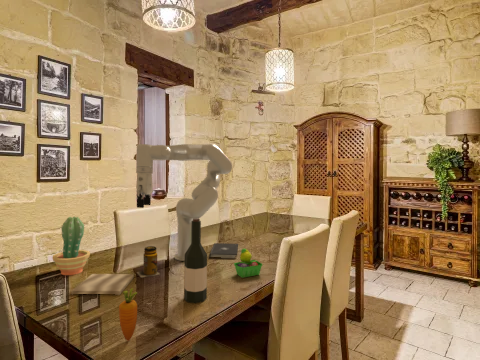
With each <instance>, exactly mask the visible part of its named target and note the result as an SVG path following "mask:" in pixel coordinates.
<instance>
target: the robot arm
mask: <svg viewBox="0 0 480 360" xmlns="http://www.w3.org/2000/svg"><path fill="white" fill-rule="evenodd" d="M135 160H136V161H135V162H136V168H135V171H136V172H135V173H136V174H137V176H136V190H135V191H136V208H138V209H140V208H142V209H144V207H145V206H151V200H152V199H151V198H152V193H154V192H153V189H154V188H153V175H152V174H153V172H154V166H153V165H154V161H178V162H179V161H181V162H182V161H184V162H185V161H186V162H187V161H188V162H189V161H192V162H193V161H208V162H207V167H206V170H207V174H206V176H205V178H204V179H203V180H202V181H201V182H200V183H199V184H198V185H197V186H196V187H195V188H194V189H193V190H192V192H191V198H187V197H184V198H181V199H179V200H178V202H177V203H176V206H175V213H176V217H177V253H176V254H175V255H173V256H174V260H175V261H176V260H177V261H181V262H184V258H185V253H186V251H187V250H188V248H189V246H190V245H191V225H192V221H193V219H194V218H199V219H200V218H202V217H203V216H204V215H205V214H206V213H207V212H208V211H209V210H210V209H211V208H212V207H213V206H214V205H215V204H216V202H217V201H218V199H219V191H218V187H219V186H220V184H221V175H227V174H230V173H231V172H232V170H233V164H232V161H231V160H230V158H229V157H228V156H227V155H226V154H225V153H224V152H223V150H221V148H219V146H217V145H216V144H213V143H206V144H197V143H196V144H193V143H192V144H191V143H190V144H189V143H188V144H186V143H183V144H175V145H165V144H155V145H154V144H153V145H151V144H148V143H147V144H145V143H144V144H142V143H140V144H137V146H136V159H135Z"/></svg>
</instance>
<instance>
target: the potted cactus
mask: <svg viewBox="0 0 480 360" xmlns="http://www.w3.org/2000/svg"><path fill="white" fill-rule="evenodd" d="M60 228H61V238H62V240H63V241H62V242H63V249H62V251H61V252H57V253H55V254H53V255H52V257H51V259H52V260H53V262H54V263H55V265H56V266H57V267H56V268H57V269H58V270H59V271H60V274H61V275H63V276H72V275H73V276H74V275H78V274H81V273H82V272H83V270H84V267H85V266H86V264H87V261H88V258H89V259H90V256H91V251H89V250H85V249H80V246H81V243H82V242H81V241H82V239H83V236H84V234H85V224H84V223H83V221H82V220H81V219H80V217H79V216H73V217H72V216H69V217H67V218H66V219H65V221H64V222H63V223H62V225H61V227H60Z"/></svg>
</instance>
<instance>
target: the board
mask: <svg viewBox="0 0 480 360" xmlns="http://www.w3.org/2000/svg"><path fill="white" fill-rule="evenodd" d="M134 274H135V273H92V274H90V275H88V276H87V278H85V279H84V280H82V282H81V283H79V284H78V285H76V286H75V287H74V288H73V289H72V290H71V294H70V295H72V296H73V294H115V295H114V296H120V295H121V294H123V292H124V291H125V289H126V288H127V286H128V285H129V284H130V283H131V282H132V281H133V280H134V278H135V275H134Z"/></svg>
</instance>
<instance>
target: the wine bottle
mask: <svg viewBox="0 0 480 360" xmlns="http://www.w3.org/2000/svg"><path fill="white" fill-rule="evenodd" d="M201 225H202V221H201V220H200V218H194V219H193V221H192V225H191V245H190V246H189V248H188V250H187V251H186V253H185V258H184V261H183V262H184V263H183V264H184V266H183V267H184V269H183V270H184V271H183V272H184V273H183V274H184V277H183V279H184V281H183V283H184V285H183V286H184V287H183V288H184V289H183V291H184V294H183V299H184V300H185V302H186V303H190V304H199V303H204V302H205V300H207V297H208V295H207V294H208V293H207V292H208V288H207V287H208V252H207V251H206V250H205V248H204V247H203V245H202V243H201V241H202V239H201V236H202V234H201V233H202V226H201Z"/></svg>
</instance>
